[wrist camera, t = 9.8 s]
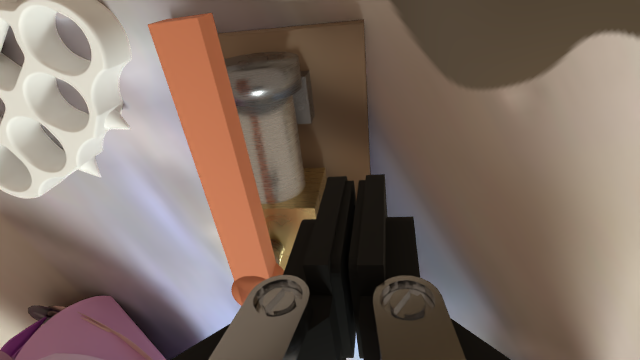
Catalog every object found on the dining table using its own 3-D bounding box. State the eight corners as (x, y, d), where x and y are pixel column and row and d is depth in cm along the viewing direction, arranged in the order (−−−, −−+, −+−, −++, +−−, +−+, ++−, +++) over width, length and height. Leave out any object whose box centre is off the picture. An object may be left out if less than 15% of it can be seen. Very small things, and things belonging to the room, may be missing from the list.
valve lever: (221, 11, 15) (207, 15, 14) (290, 293, 22) (285, 312, 21) (157, 20, 15) (138, 26, 14) (245, 293, 23) (238, 312, 22)
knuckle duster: (-18, -99, 23) (180, 64, 27) (-69, 104, 32) (88, 208, 35) (-74, -107, 20) (155, 76, 24) (-113, 118, 29) (62, 230, 32)
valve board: (375, 295, 35) (375, 307, 34) (253, 291, 37) (248, 303, 36) (363, 19, 23) (362, 23, 22) (185, 36, 25) (174, 40, 24)
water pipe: (341, 298, 34) (331, 388, 27) (277, 296, 35) (251, 383, 28) (314, 45, 23) (285, 83, 16) (222, 52, 24) (157, 92, 17)
